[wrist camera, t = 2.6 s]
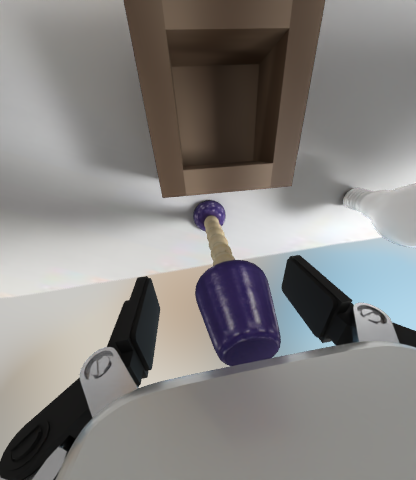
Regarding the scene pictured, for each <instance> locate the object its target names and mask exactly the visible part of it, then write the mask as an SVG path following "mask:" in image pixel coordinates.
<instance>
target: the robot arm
mask: <svg viewBox="0 0 416 480" xmlns="http://www.w3.org/2000/svg"><path fill="white" fill-rule="evenodd" d="M282 291H283V293H284V294H285V296H286V297H287V298H288V300H289V301H290V302H291V304H292V305H293V306H294V308H295V309H296V310H297V312H298V313H299V315H300V316H301V317H302V319H303V320H304V321H305V323H306V324H307V326H308V327H309V328H310V330H311V331H312V333H313V334H314V335H315V336H316V337H318V338H319V339H320V340H321V342H322V343H324V342H330V341H331V340H332V341H333V343H334V344H335V346H332V347H326V348H321V349H316V350H311V351H306V352H301V353H296V354H290V355H285V356H280V357H275V358H270V359H265V360H260V361H255V362H250V363H245V364H240V365H235V366H230V367H226V368H221V369H216V370H211V371H206V372H202V373H196V374H192V375H188V376H183V377H178V378H174V379H170V380H165V381H161V382H157V383H154V384H151V385H147V386H144V387H141V388H138V386H139V385H140V384H141V379H142V378H147V376H148V370H151V369H152V364H153V357H154V350H155V342H156V336H157V329H158V321H159V314H160V306H159V303H158V299H157V296H156V293H155V290H154V286H153V283H152V280H151V278H148V277H147V276H146V277H139V278H137V280H136V283H135V286H134V289H133V292H132V294H131V297H130V300H128V301H125V302H124V304H123V307H122V310H121V312H120V314H119V317H118V320H117V322H116V325H115V328H114V330H113V332H112V335H111V338H110V340H109V343H108V345H107V347H105V348H103V349H100V350H98V351H96V352H95V353H93V354H92V355H91V356H90V357H89V358H88V359H87V360H86V362H85V363H84V365H83V367H82V368H81V372H80V378H79V379H77V380H76V381H75V382H74V383H73V384H72V385H71V386H69V388H67V389H66V390H65V391H64V392H63V393H61V394H60V395H59V396H58V397H57V398H56V399H55V400H53V401H52V402H51V403H50V404H49V405H48V406H47V407H45V408H44V409H43V410H42V411H41V412H40V413H39V414H38V415H36V416H35V417H34V418H33V419H32V420H31V421H29V422H28V423H27V424H26V425H25V426H24V427H23V428H22V429H21V430H20V431H19V432H18V433H17V434H16V435H15V437H14V438H13V439H12V440H11V442H10V443H9V445H8V446H7V448H6V450H5V452H4V453H3V456H2V458H1V461H0V480H416V331H414V330H411V329H409V328H406V327H403V326H401V325H398V324H395V323H392V322H391V319H390V318H389V316H388V315H387V314H386V313H384V312H383V311H382V310H380V309H379V308H377V307H375V306H373V305H370V304H366V303H356V304H355V305H353V304H352V303H351V302H352V300H351V299H350V298H349V297H348V296H347V295H345V294H344V293H343V292H342V291H341V290H340V289H338V288H337V287H336V286H335V285H334V284H332V283H331V282H330V281H329V280H328V279H327V278H326V277H324V276H323V275H322V274H321V273H320V272H319V271H318V270H316V269H315V268H314V267H313V266H312V265H310V264H309V263H308V262H307V261H306V260H305V259H303V258H302V257H301V256H300V255H296V256H290V257H289V259H288V260H287V264H286V269H285V274H284V278H283V283H282Z"/></svg>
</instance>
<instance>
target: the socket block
mask: <svg viewBox="0 0 416 480" xmlns="http://www.w3.org/2000/svg"><path fill="white" fill-rule="evenodd" d="M124 5H125V10H126V15H127V20H128V25H129V30H130V35H131V40H132V45H133V50H134V56H135V61H136V66H137V71H138V76H139V81H140V86H141V91H142V96H143V101H144V106H145V111H146V116H147V121H148V127H149V132H150V137H151V142H152V147H153V152H154V157H155V162H156V167H157V172H158V177H159V182H160V187H161V192H162V197H163V198H168V197H179V196H189V195H200V194H211V193H222V192H233V191H244V190H255V189H266V188H277V187H288V186H292V181H293V176H294V170H295V165H296V159H297V154H298V148H299V143H300V137H301V131H302V126H303V120H304V115H305V109H306V104H307V98H308V93H309V87H310V82H311V76H312V71H313V65H314V60H315V54H316V49H317V43H318V38H319V32H320V27H321V21H322V16H323V10H324V5H325V0H124Z"/></svg>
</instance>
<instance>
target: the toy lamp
mask: <svg viewBox="0 0 416 480" xmlns="http://www.w3.org/2000/svg"><path fill="white" fill-rule="evenodd" d="M193 217H194V222H195V224H196V225H197V227H198V228H200V229H201V230H203V231H206V233H207V239H208V241H209V248H210V250H211V257H212V259H213V267H211V268H210V269H208V270H207V271H206V272H205V273H204V274H203V275H202V276H201V277H200V279H199V281H198V283H197V285H196V291H195V295H196V301H197V304H198V307H199V310H200V312H201V315H202V317H203V320H204V323H205V325H206V328H207V331H208V333H209V336H210V338H211V341H212V344H213V346H214V349H215V351H216V353H217V355H218V357H219V358H220V360H221V361H222V362H224V363H225V364H227V365H229V366H235V365H240V364H245V363H250V362H255V361H260V360H265V359H270V358H272V357H273V356H274V355H275V354H276V353H277V352H278V350H279V348H280V343H281V341H280V340H281V339H280V332H279V327H278V322H277V318H276V314H275V309H274V305H273V300H272V296H271V292H270V288H269V284H268V280H267V278H266V276H265V274H264V272H263V271H262V270H261V269H260V268H259V267H258V266H256V265H255V264H253V263H250V262H248V261H244V260H242V261H241V260H235V259H234V257H233V256H232V252H231V249H230V247H229V246H228V242H227V239H226V238H225V236H224V232H223V230H222V228H221V226H222V225H223V223H224V221H225V210H224V208H223V206H222V205H221V204H219V203H218V202H216V201H212V200H208V201H204V202H202V203H200V204H199V205H198V206H197V207H196V209H195V211H194V215H193Z"/></svg>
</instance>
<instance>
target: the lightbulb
mask: <svg viewBox="0 0 416 480" xmlns="http://www.w3.org/2000/svg"><path fill="white" fill-rule="evenodd" d="M343 204H344V206H345V207H348V208H351V209H354V210H357V211H359V212H361V213H362V214H363V215H364V216H365V217H367V218H369V219H370V220H371V222H372V224H373V226H374V228H375V230H376V231H377V232H378V233H379V235H381V236H382V237H383V238H384V239H386V240H388V241H390V242H392V243H394V244H397V245H400V246H405V247H411V248H416V183H413V184H409V185H406V186H402V187H399V188H396V189H393V190H378V191H371V190H367V189H361V188H354V189H351V190H350V191H349V192H348V193H347V194H346V195H345V197H344V199H343Z"/></svg>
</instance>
